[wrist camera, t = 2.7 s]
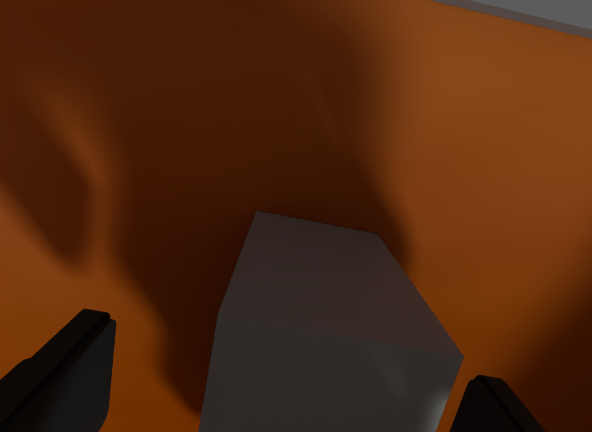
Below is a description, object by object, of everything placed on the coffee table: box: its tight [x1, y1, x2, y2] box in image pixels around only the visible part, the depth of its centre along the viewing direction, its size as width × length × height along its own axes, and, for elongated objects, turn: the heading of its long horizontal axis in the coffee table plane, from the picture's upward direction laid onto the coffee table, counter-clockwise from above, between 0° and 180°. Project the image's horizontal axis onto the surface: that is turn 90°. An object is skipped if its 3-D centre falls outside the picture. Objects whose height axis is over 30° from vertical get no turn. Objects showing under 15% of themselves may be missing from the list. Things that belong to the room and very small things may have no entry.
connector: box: [199, 211, 464, 432], centre depth 10 cm, size 9×4×6 cm, turn 168°
